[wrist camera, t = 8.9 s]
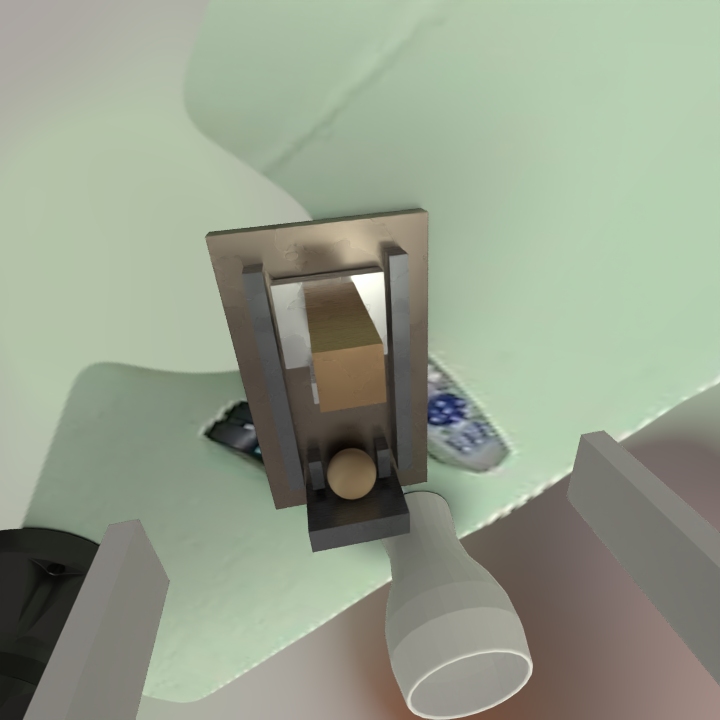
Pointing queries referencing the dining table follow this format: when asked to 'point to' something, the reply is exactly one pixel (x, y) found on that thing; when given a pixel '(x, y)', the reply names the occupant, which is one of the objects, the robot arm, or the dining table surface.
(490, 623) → the cup
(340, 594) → the dining table surface
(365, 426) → the press base
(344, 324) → the wooden press block
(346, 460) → the nut
